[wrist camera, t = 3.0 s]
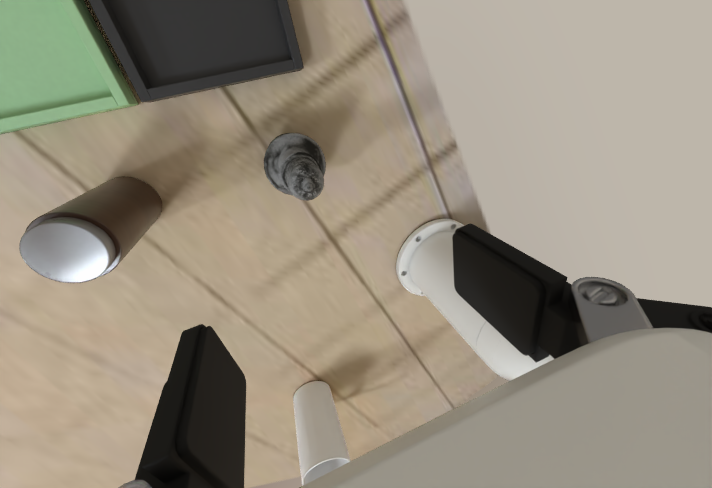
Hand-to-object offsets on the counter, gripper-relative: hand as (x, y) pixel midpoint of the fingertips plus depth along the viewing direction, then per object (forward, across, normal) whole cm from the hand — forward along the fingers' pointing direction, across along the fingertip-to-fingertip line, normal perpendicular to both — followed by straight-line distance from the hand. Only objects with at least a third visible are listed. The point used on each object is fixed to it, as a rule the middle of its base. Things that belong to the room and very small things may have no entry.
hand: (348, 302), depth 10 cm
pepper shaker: (+24, +15, -1) cm, 28 cm away
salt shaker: (+24, -1, -1) cm, 24 cm away
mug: (+23, +8, +38) cm, 45 cm away
